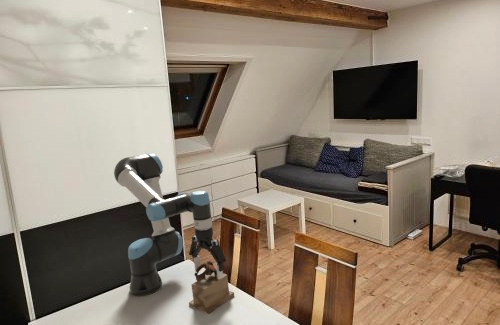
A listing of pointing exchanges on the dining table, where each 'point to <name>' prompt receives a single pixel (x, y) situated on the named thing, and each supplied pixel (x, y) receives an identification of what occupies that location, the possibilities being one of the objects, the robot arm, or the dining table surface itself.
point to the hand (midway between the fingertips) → (209, 274)
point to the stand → (210, 293)
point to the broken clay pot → (208, 271)
